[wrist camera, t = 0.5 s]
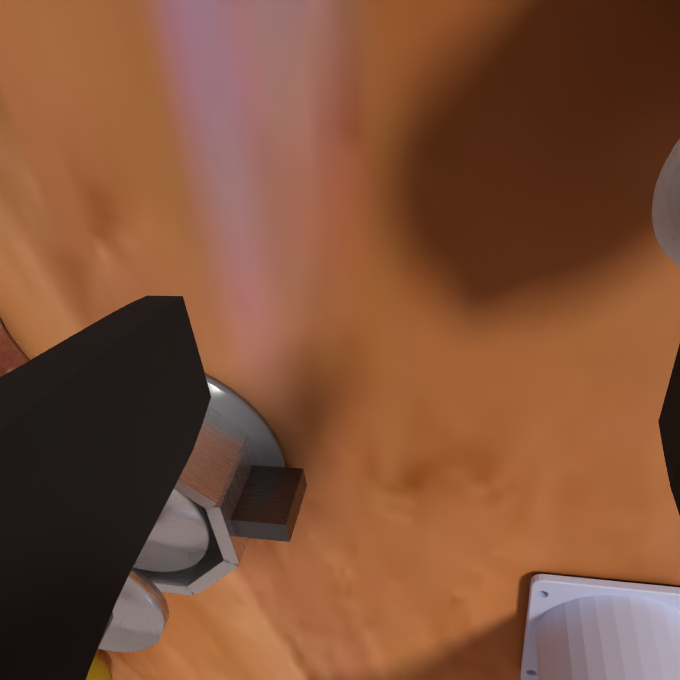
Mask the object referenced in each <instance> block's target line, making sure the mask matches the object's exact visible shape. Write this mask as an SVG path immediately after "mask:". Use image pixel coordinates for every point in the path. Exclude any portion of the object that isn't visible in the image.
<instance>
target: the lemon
mask: <svg viewBox="0 0 680 680" xmlns="http://www.w3.org/2000/svg"><path fill="white" fill-rule="evenodd" d="M86 680H112V675H111V671H110V668H109V667H108V665H107V663H106V662H105V661H104V660H103V659H102V658H101V656H100V652H99V649H97V652H96V654H95V657H94V659H93V662H92V664H91V667H90V669H89V672H88V675H87V678H86Z"/></svg>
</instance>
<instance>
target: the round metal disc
mask: <svg viewBox="0 0 680 680" xmlns="http://www.w3.org/2000/svg"><path fill="white" fill-rule="evenodd" d="M205 376H206V380H207V383H208V387H209V390H210V394H211V399H210V402H209V406H210V407H211V408H213V409H214V410H216V411H217V412H219V413H220V414H222V415H223V416H225V417H226V418H228V419H229V420H230V421H232V422H233V423H235V424H236V425H238V426H239V427H241V428H242V429H244V430H245V431H247V435H246V436H251V439H252V443H253V447H254V451H255V454H256V458H257V462H258V466H270V467H285V468H286V461H285V457H284V454H283V451H282V448H281V445H280V443H279V441H278V439H277V437H276V435H275V434H274V432H273V431H272V429H271V428H270V426H269V425H268V423H267V422H266V421H265V420H264V419H263V417H262V416H261V415H260V414H259V413H258V411H257V410H256V409H254V408H253V407H252V406H251V405H250V404H249V403H248V402H247V401H246V400H245V399H244V398H242V397H241V396H240V395H239V394H237V393H236V392H235V391H233V390H232V389H231V388H229V387H228V386H226V385H224V384H223V383H221V382H220V381H218V380H217V379H215V378H213V377H211V376H209V375H207V374H205Z"/></svg>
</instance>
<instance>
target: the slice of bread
mask: <svg viewBox="0 0 680 680" xmlns="http://www.w3.org/2000/svg"><path fill="white" fill-rule="evenodd" d="M28 361H30V359H29V358H28V357H27V356H26V355H25V354H24V353H23V351H22V350H21V349H20V348H19V346H18V345H17V344H16V342H15V341H14V340H13V338H12V337H11V335H10V334H9V333H8V331H7V330H6V328H5V327H4V325H3V323H2V321H1V319H0V377H1V376H3V375H5V374H6V373H8V372H10V371H12V370H14V369H16V368H18V367H19V366H21V365H23V364H25V363H27V362H28Z"/></svg>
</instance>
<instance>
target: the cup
mask: <svg viewBox="0 0 680 680" xmlns="http://www.w3.org/2000/svg"><path fill="white" fill-rule="evenodd" d="M652 222H653V228H654V233H655V236H656V239H657V241H658V244H659V245H660V247H661V248H662V250H663V251H664V253H665V254H666V255H667V256H668V257H669V258H670V259H671V260H672V261H674V262H675V263H676V264H677V265H679V266H680V138H679V140H678V141H677V143H676V144H675V146H674V147H673V149H672V151H671V152H670V154H669V156H668V158H667V159H666V161H665V163H664V165H663V167H662V169H661V172H660V174H659V177H658V180H657V182H656V186H655V190H654V195H653V203H652Z"/></svg>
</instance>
